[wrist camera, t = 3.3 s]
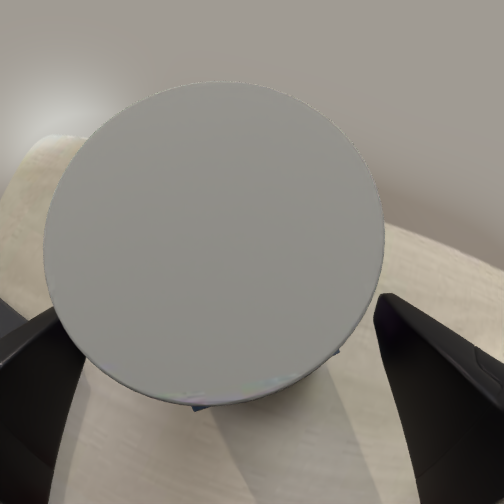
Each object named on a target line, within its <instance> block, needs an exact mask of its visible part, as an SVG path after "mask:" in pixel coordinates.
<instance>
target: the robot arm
mask: <svg viewBox="0 0 504 504" xmlns="http://www.w3.org/2000/svg"><path fill="white" fill-rule="evenodd" d="M373 322H374V326H375V331H376V335H377V339H378V344H379V348H380V353H381V357H382V362H383V365H384V368H385V371H386V375H387V378H388V381H389V384H390V387H391V390H392V393H393V397H394V400H395V403H396V406H397V410H398V413H399V417H400V420H401V424H402V427H403V431H404V435H405V438H406V442H407V446H408V450H409V454H410V458H411V462H412V466H413V470H414V474H415V479H416V484H417V489H418V494H419V498H420V503H421V504H504V364H503V363H502V362H500V361H498V360H496V359H495V358H493V357H492V356H490V355H489V354H487V353H486V352H484V351H483V350H481V349H480V348H478V347H477V346H475V347H474V345H473V344H472V343H470V342H469V341H467V340H466V339H464V338H463V337H461V336H460V335H458V334H457V333H455V332H454V331H452V330H451V329H449V328H447V327H446V326H444V325H443V324H441V323H440V322H438V321H436V320H435V319H433V318H432V317H430V316H429V315H427V314H425V313H424V312H422V311H421V310H419V309H417V308H416V307H414V306H413V305H411V304H409V303H408V302H406V301H405V300H403V299H401V298H400V297H398V296H397V295H395V294H393V293H383V294H381V295H380V296H379V298H378V301H377V304H376V308H375V312H374V315H373ZM85 360H86V356H85V355H84V354H83V353H82V352H81V351H80V350H79V349H78V347H77V346H76V345H75V343H74V342H73V341H72V339H71V338H70V337H69V335H68V333H67V332H66V330H65V329H64V327H63V325H62V323H61V321H60V319H59V317H58V315H57V313H56V311H55V308H54V306H53V307H51V308H49V309H48V310H46V311H44V312H43V313H41V314H39V315H38V316H36V317H34V318H33V319H31V320H29V321H28V322H26V323H25V324H23V325H21V326H20V327H18V328H16V329H15V330H13V331H12V332H10V333H8V334H7V335H5V336H4V337H2V338H0V504H48V501H49V495H50V489H51V484H52V479H53V474H54V468H55V464H56V459H57V455H58V451H59V446H60V442H61V438H62V435H63V431H64V427H65V423H66V420H67V416H68V413H69V409H70V406H71V403H72V399H73V396H74V393H75V390H76V387H77V384H78V381H79V378H80V375H81V372H82V369H83V366H84V363H85Z"/></svg>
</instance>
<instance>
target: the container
mask: <svg viewBox="0 0 504 504" xmlns="http://www.w3.org/2000/svg"><path fill="white" fill-rule="evenodd" d="M384 244H385V228H384V217H383V210H382V205H381V201H380V197H379V193H378V190H377V187H376V184H375V182H374V179H373V177H372V175H371V173H370V170H369V168H368V166H367V164H366V163H365V161H364V159H363V158H362V156H361V154H360V153H359V151H358V150H357V148H356V147H355V146H354V144H353V143H352V142H351V141H350V140H349V138H348V137H347V136H346V135H345V134H344V133H343V132H342V131H341V129H340V128H339V127H337V126H336V125H335V124H334V123H333V122H332V121H331V120H330V119H329V118H327V117H326V116H324V115H323V114H322V113H321V112H319V111H318V110H316V109H314V108H313V107H312V106H310V105H308V104H306V103H305V102H302V101H301V100H298V99H297V98H295V97H293V96H290V95H288V94H285V93H283V92H281V91H277V90H274V89H271V88H267V87H263V86H259V85H254V84H249V83H242V82H229V81H212V82H201V83H193V84H187V85H182V86H178V87H174V88H170V89H167V90H164V91H161V92H158V93H156V94H153V95H151V96H148V97H146V98H144V99H142V100H140V101H138V102H136V103H134V104H132V105H130V106H129V107H127V108H125V109H124V110H122V111H121V112H119V113H118V114H116V115H115V116H113V117H112V118H111V119H110V120H108V121H107V122H106V123H105V124H103V125H102V126H101V127H100V128H99V129H98V130H97V131H95V132H94V133H93V135H92V136H91V137H90V138H89V139H88V140H87V141H86V142H85V143H84V144H83V145H82V147H81V148H80V149H79V150H78V152H77V153H76V154H75V156H74V157H73V158H72V160H71V161H70V163H69V165H68V166H67V168H66V169H65V171H64V173H63V175H62V177H61V179H60V181H59V183H58V185H57V187H56V190H55V192H54V195H53V198H52V200H51V203H50V207H49V210H48V214H47V219H46V224H45V230H44V241H43V260H44V270H45V277H46V282H47V286H48V290H49V294H50V298H51V300H52V303H53V306H54V308H55V311H56V313H57V315H58V317H59V319H60V321H61V323H62V325H63V327H64V329H65V330H66V332H67V333H68V335H69V337H70V338H71V339H72V341H73V342H74V343H75V345H76V346H77V347H78V349H79V350H80V351H81V352H82V353H83V354H84V355H85V356H86V357H87V358H88V359H89V360H90V361H91V362H92V363H93V364H94V365H95V366H96V367H97V368H99V369H100V370H101V371H102V372H103V373H105V374H106V375H108V376H109V377H111V378H112V379H114V380H115V381H117V382H118V383H120V384H122V385H123V386H125V387H127V388H129V389H131V390H133V391H135V392H138V393H140V394H143V395H145V396H148V397H150V398H154V399H157V400H161V401H164V402H169V403H174V404H179V405H188V406H223V405H232V404H238V403H243V402H248V401H252V400H256V399H259V398H262V397H265V396H268V395H271V394H273V393H276V392H278V391H280V390H282V389H284V388H287V387H289V386H291V385H293V384H295V383H296V382H298V381H300V380H301V379H303V378H304V377H306V376H308V375H309V374H311V373H312V372H313V371H315V370H316V369H317V368H319V367H320V366H321V365H322V364H324V363H325V362H326V361H327V360H328V359H329V358H331V357H332V355H333V354H334V353H335V352H336V351H337V350H338V349H339V348H340V347H341V346H342V345H343V344H344V343H345V342H346V340H347V339H348V338H349V336H350V335H351V334H352V333H353V331H354V330H355V328H356V327H357V325H358V324H359V322H360V321H361V319H362V317H363V316H364V314H365V312H366V310H367V308H368V306H369V304H370V302H371V300H372V297H373V295H374V292H375V290H376V287H377V284H378V280H379V277H380V273H381V268H382V263H383V256H384Z"/></svg>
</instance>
